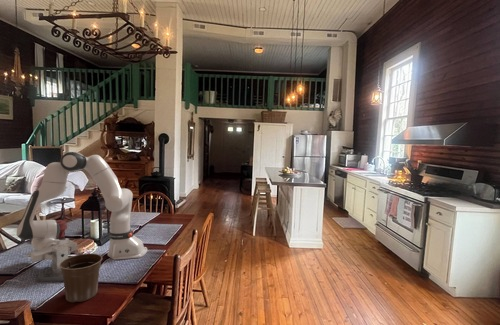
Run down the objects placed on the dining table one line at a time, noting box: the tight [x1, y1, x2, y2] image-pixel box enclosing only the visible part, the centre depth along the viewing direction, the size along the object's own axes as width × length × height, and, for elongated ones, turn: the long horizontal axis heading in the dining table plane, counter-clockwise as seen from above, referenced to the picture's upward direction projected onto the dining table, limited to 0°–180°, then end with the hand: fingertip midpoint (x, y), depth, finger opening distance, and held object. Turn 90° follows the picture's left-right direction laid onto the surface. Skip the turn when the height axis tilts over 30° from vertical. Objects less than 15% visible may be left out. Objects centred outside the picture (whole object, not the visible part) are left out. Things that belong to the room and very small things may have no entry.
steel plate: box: [36, 265, 64, 283], centre depth 141 cm, size 14×14×2 cm
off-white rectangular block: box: [51, 244, 69, 273], centre depth 140 cm, size 5×6×12 cm
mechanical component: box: [55, 219, 68, 239], centre depth 188 cm, size 12×10×10 cm
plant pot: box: [60, 252, 103, 303], centre depth 123 cm, size 16×16×16 cm
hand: (60, 255), depth 140 cm, fingers open, 6 cm apart
